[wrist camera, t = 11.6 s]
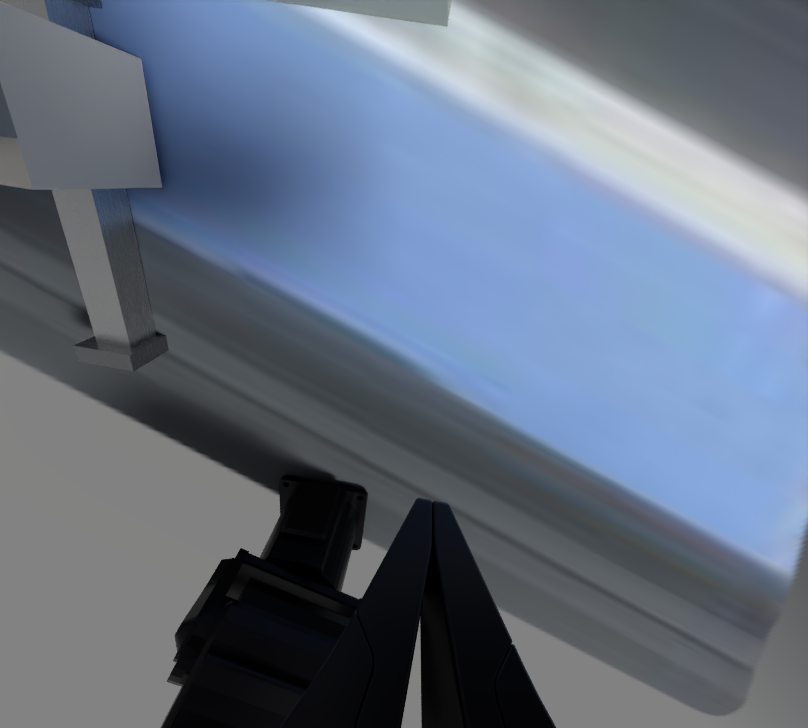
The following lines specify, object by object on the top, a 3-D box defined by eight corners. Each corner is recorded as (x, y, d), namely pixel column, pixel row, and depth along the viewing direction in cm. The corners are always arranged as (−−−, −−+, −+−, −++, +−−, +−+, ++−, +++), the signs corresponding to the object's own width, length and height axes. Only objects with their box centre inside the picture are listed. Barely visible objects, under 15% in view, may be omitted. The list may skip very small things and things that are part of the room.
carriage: (163, 187, 17) (15, 190, 11) (37, 167, 18) (-173, 159, 12) (142, 58, 15) (-57, -23, 9) (-3, 36, 15) (-292, -57, 9)
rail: (168, 350, 22) (133, 371, 20) (119, 341, 22) (78, 361, 20) (95, -26, 14) (22, -69, 12) (19, -36, 14) (-70, -82, 12)
